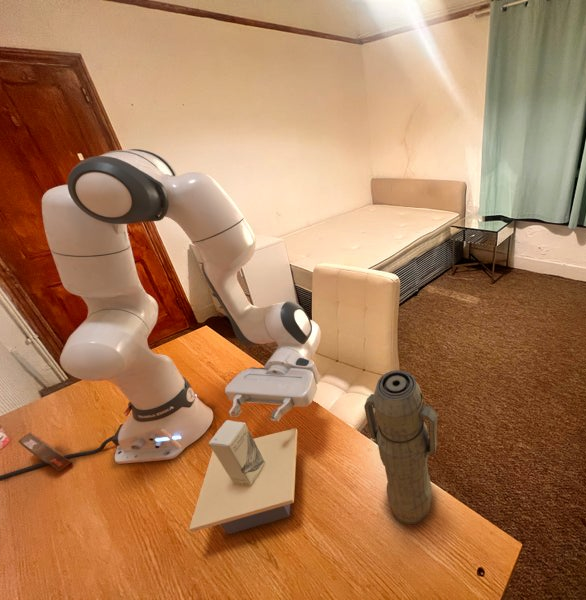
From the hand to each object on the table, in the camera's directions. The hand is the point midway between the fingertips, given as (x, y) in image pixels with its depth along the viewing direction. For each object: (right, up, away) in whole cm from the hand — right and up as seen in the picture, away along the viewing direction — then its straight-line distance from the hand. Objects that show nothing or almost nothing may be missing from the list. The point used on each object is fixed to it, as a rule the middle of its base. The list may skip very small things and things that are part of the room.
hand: (253, 417), depth 64 cm
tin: (-58, -17, +15) cm, 63 cm away
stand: (0, -19, +4) cm, 19 cm away
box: (0, -11, -1) cm, 11 cm away
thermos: (+33, -18, +1) cm, 37 cm away
